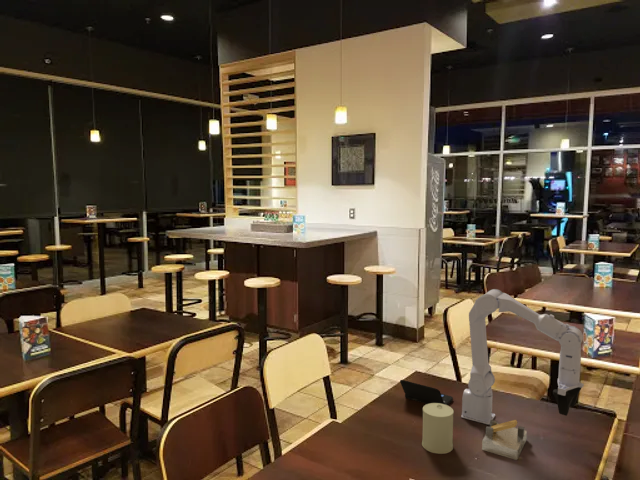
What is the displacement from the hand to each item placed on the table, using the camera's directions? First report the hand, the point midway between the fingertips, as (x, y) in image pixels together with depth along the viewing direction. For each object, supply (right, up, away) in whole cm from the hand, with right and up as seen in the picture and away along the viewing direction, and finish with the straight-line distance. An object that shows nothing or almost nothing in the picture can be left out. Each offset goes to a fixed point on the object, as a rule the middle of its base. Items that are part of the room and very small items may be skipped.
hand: (566, 409), depth 147 cm
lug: (-15, -7, -1) cm, 16 cm away
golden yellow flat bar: (-20, -5, -1) cm, 21 cm away
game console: (-37, -8, +29) cm, 47 cm away
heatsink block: (-20, -10, -1) cm, 22 cm away
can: (-40, -11, -1) cm, 41 cm away
